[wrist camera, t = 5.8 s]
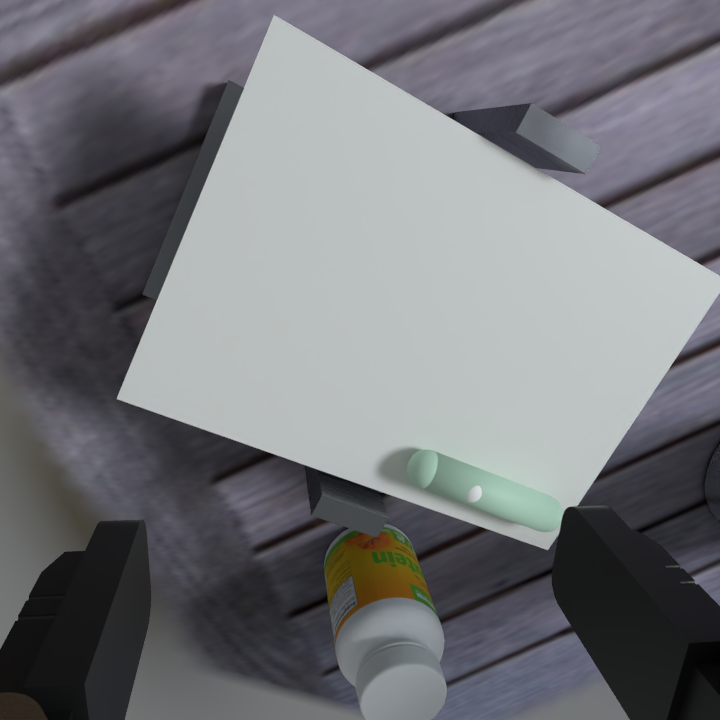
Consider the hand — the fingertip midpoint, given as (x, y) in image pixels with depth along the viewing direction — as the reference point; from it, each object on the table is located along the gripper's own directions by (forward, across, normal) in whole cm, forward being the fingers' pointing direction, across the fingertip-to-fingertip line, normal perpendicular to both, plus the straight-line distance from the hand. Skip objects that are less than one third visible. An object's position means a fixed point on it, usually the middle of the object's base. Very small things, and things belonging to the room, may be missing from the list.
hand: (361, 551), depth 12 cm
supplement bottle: (+20, -4, +16) cm, 26 cm away
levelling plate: (+13, -5, -1) cm, 13 cm away
